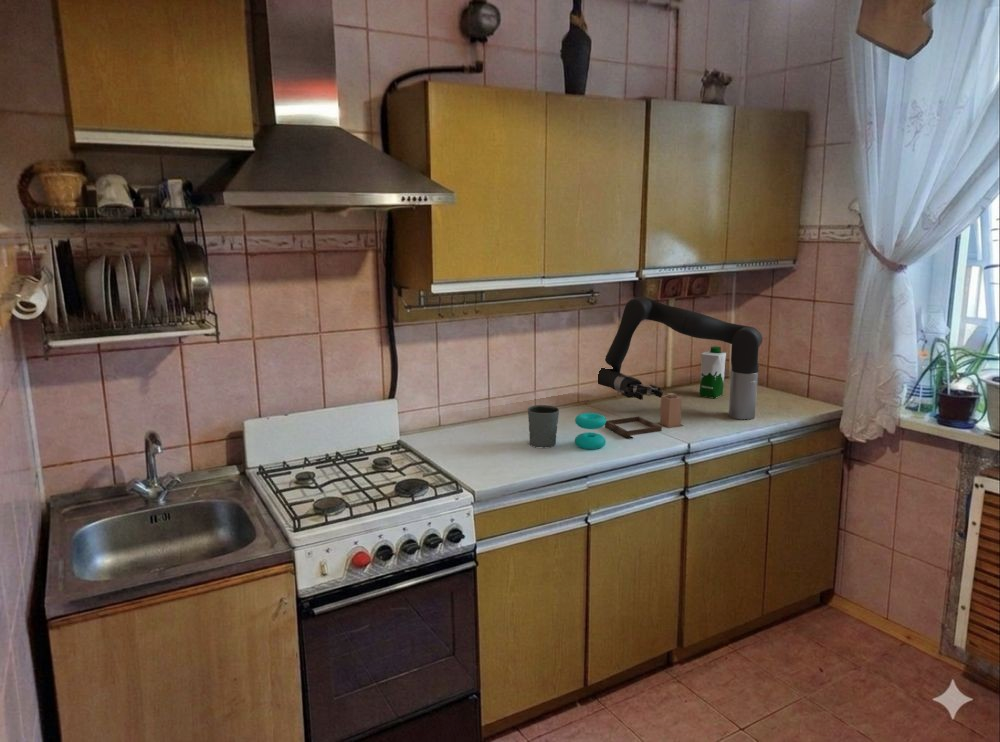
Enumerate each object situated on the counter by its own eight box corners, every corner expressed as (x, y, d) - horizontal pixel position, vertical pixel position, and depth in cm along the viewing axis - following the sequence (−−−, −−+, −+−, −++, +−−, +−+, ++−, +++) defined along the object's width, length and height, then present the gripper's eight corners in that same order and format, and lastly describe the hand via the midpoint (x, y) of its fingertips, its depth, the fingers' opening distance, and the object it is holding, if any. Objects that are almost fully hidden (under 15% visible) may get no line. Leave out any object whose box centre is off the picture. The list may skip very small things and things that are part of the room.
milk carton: (725, 395, 288) (728, 347, 284) (716, 399, 281) (719, 351, 277) (705, 391, 294) (708, 345, 289) (696, 396, 287) (698, 348, 282)
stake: (655, 425, 248) (657, 392, 245) (672, 423, 250) (673, 390, 248) (667, 431, 242) (669, 397, 239) (684, 428, 244) (686, 395, 242)
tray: (604, 427, 246) (605, 420, 246) (638, 422, 251) (638, 416, 251) (626, 438, 233) (626, 432, 233) (661, 433, 239) (661, 427, 238)
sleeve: (660, 423, 247) (661, 396, 245) (671, 421, 249) (673, 394, 247) (668, 427, 243) (669, 399, 240) (680, 425, 244) (681, 397, 242)
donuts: (611, 418, 222) (584, 422, 219) (611, 448, 225) (583, 452, 221) (596, 410, 231) (569, 413, 228) (596, 439, 234) (569, 442, 230)
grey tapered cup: (522, 442, 231) (521, 407, 228) (546, 437, 236) (546, 403, 233) (539, 450, 222) (540, 414, 220) (564, 445, 228) (565, 409, 225)
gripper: (612, 377, 265) (636, 387, 251) (644, 374, 271) (668, 384, 256) (611, 396, 267) (634, 407, 252) (642, 393, 272) (667, 403, 258)
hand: (652, 396), depth 254 cm, fingers open, 8 cm apart
